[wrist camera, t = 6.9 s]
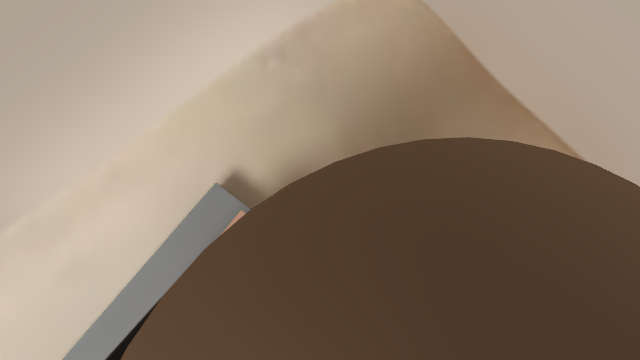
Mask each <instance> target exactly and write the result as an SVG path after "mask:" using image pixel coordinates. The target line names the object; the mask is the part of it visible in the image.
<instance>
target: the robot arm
mask: <svg viewBox="0 0 640 360" xmlns="http://www.w3.org/2000/svg"><path fill="white" fill-rule="evenodd" d="M162 297H163V296H162ZM162 297H161V298H162ZM161 298H160V299H159V300H158V301H157V302H156V303H155V304H154V305H153V307H152V308H151V309H150V310H149V311H148V312H147V313H146V314H145V315H144V317H143V318H142V319H141V320H140V321H139V322H138V323H137V324H136V325H135V327H134V328H133V329H132V330H131V331H130V332H129V333H128V334H127V335H126V337H125V338H124V339H123V340H122V341H121V342H120V343H119V344H118V345H117V347H116V348H115V349H114V350H113V351H112V352H111V353H110V354H109V355H108V357H107V358H106V359H105V360H121V358H122V356H123V354H124V352H125V350H126V349H127V347H128V345H129V344H130V343H131V341H132V340H133V338H134V337H135V335H136V334H137V333H138V331H139V330H140V328H141V327H142V325H143V324H144V322H145V321H146V320H147V318H148V317H149V315H150V314H151V312H152V311H153V310H154V308H155V307H156V305H157V304H158V302H159V301H160V300H161Z"/></svg>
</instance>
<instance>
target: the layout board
mask: <svg viewBox="0 0 640 360" xmlns="http://www.w3.org/2000/svg"><path fill="white" fill-rule="evenodd" d="M250 210H251V209H250V208H248V207H247V206H246V205H245V204H243V203H242V202H241V201H239V200H238V199H237V198H235V197H234V196H233V195H231V194H230V193H229V192H227V191H226V190H225V189H223V188H222V187H221V186H220V185H218V184H217V183H215V184H214V186H213V187H212V188H211V189H210V190H209V191H208V193H207V194H206V195H205V196H204V197H203V198H202V199H201V201H200V202H199V203H198V204H197V205H196V206H195V208H194V209H193V210H192V211H191V212H190V213H189V214H188V216H187V217H186V218H185V219H184V220H183V221H182V222H181V224H180V225H179V226H178V227H177V228H176V229H175V231H174V232H173V233H172V234H171V235H170V236H169V237H168V239H167V240H166V241H165V242H164V243H163V244H162V246H161V247H160V248H159V249H158V250H157V251H156V252H155V254H154V255H153V256H152V257H151V258H150V259H149V261H148V262H147V263H146V264H145V265H144V266H143V267H142V269H141V270H140V271H139V272H138V273H137V274H136V276H135V277H134V278H133V279H132V280H131V281H130V282H129V284H128V285H127V286H126V287H125V288H124V289H123V291H122V292H121V293H120V294H119V295H118V296H117V297H116V299H115V300H114V301H113V302H112V303H111V304H110V305H109V307H108V308H107V309H106V310H105V311H104V312H103V314H102V315H101V316H100V317H99V318H98V319H97V320H96V322H95V323H94V324H93V325H92V326H91V327H90V329H89V330H88V331H87V332H86V333H85V334H84V335H83V337H82V338H81V339H80V340H79V341H78V342H77V344H76V345H75V346H74V347H73V348H72V349H71V350H70V352H69V353H68V354H67V355H66V356H65V357H64V359H63V360H105V359H106V358H107V357H108V355H109V354H110V353H111V352H112V351H113V350H114V349H115V348H116V347H117V345H118V344H119V343H120V342H121V341H122V340H123V339H124V338H125V337H126V335H127V334H128V333H129V332H130V331H131V330H132V329H133V328H134V327H135V325H136V324H137V323H138V322H139V321H140V320H141V319H142V318H143V317H144V315H145V314H146V313H147V312H148V311H149V310H150V309H151V308H152V307H153V305H154V304H155V303H156V302H157V301H158V300H159V299H160V298H161V297H162V296H163V295H164V294H165V293H166V292H167V290H168V289H169V288H170V287H171V286H172V285H173V284H174V283H175V282H176V280H177V279H178V278H179V277H180V276H181V275H182V274H183V273H184V271H185V270H186V269H187V268H188V267H189V266H190V265H191V264H192V263H193V261H194V260H195V259H196V258H197V257H198V256H199V255H200V254H201V253H202V251H203V250H204V249H205V248H206V247H208V246H209V245H210V244H211V243H212V242H213V241H214V240H216V239H217V238H218V237H219V236H220V235H221V234H223V233H224V232H225V231H226V230H227V229H228V228H229V227H231V226H232V225H233V224H234V223H235V222H236V221H238V220H239V219H240V218H241V217H242V216H243V215H245V214H246V213H247V212H248V211H250Z"/></svg>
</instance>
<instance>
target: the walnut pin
mask: <svg viewBox="0 0 640 360" xmlns="http://www.w3.org/2000/svg"><path fill="white" fill-rule="evenodd" d="M121 360H640V187H639V186H638V185H636V184H634V183H632V182H630V181H628V180H626V179H624V178H622V177H620V176H617V175H615V174H613V173H611V172H609V171H607V170H605V169H603V168H601V167H599V166H597V165H594V164H592V163H589V162H586V161H583V160H580V159H577V158H575V157H572V156H569V155H566V154H563V153H560V152H557V151H554V150H550V149H545V148H541V147H536V146H532V145H527V144H522V143H518V142H513V141H504V140H492V139H480V138H469V137H467V138H445V139H424V140H418V141H413V142H407V143H402V144H396V145H391V146H385V147H380V148H377V149H374V150H371V151H368V152H364V153H361V154H358V155H355V156H352V157H349V158H346V159H343V160H340V161H337V162H334V163H332V164H330V165H328V166H326V167H324V168H322V169H320V170H318V171H316V172H314V173H311V174H309V175H307V176H305V177H303V178H301V179H299V180H297V181H295V182H293V183H291V184H289V185H288V186H286V187H285V188H283V189H282V190H280V191H279V192H277V193H276V194H274V195H273V196H271V197H270V198H268V199H266V200H265V201H263V202H262V203H260V204H259V205H257V206H256V207H254V208H253V209H251V210H250V211H248V212H247V213H246V214H245V215H243V216H242V217H241V218H240V219H239V220H238V221H236V222H235V223H234V224H233V225H232V226H231V227H229V228H228V229H227V230H226V231H225V232H224V233H223V234H221V235H220V236H219V237H218V238H217V239H216V240H214V241H213V242H212V243H211V244H210V245H209V246H208V247H206V248H205V249H204V250H203V251H202V253H201V254H200V255H199V256H198V257H197V258H196V259H195V260H194V261H193V263H192V264H191V265H190V266H189V267H188V268H187V269H186V270H185V271H184V273H183V274H182V275H181V276H180V277H179V278H178V279H177V280H176V282H175V283H174V284H173V285H172V286H171V287H170V288H169V289H168V290H167V292H166V293H165V294H164V295H163V297H162V298H161V300H160V301H159V302H158V304H157V305H156V307H155V308H154V310H153V311H152V312H151V314H150V315H149V317H148V318H147V320H146V321H145V322H144V324H143V325H142V327H141V328H140V330H139V331H138V333H137V334H136V335H135V337H134V338H133V340H132V341H131V343H130V344H129V345H128V347H127V349H126V350H125V352H124V354H123V356H122V358H121Z"/></svg>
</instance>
